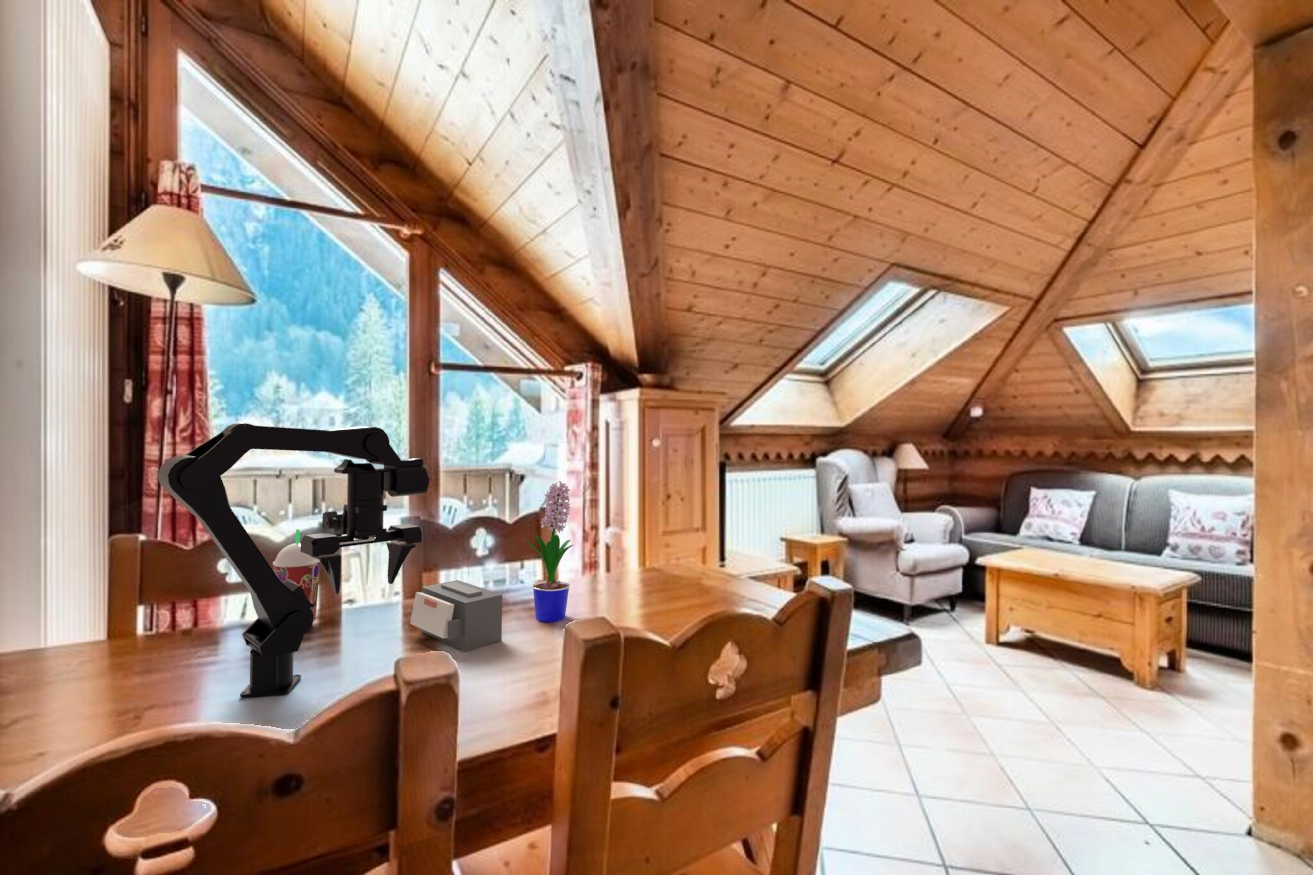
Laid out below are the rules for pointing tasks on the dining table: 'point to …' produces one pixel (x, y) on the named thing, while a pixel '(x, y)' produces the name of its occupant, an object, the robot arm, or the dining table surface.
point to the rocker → (431, 614)
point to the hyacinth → (552, 558)
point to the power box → (469, 614)
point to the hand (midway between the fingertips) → (364, 588)
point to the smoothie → (299, 570)
